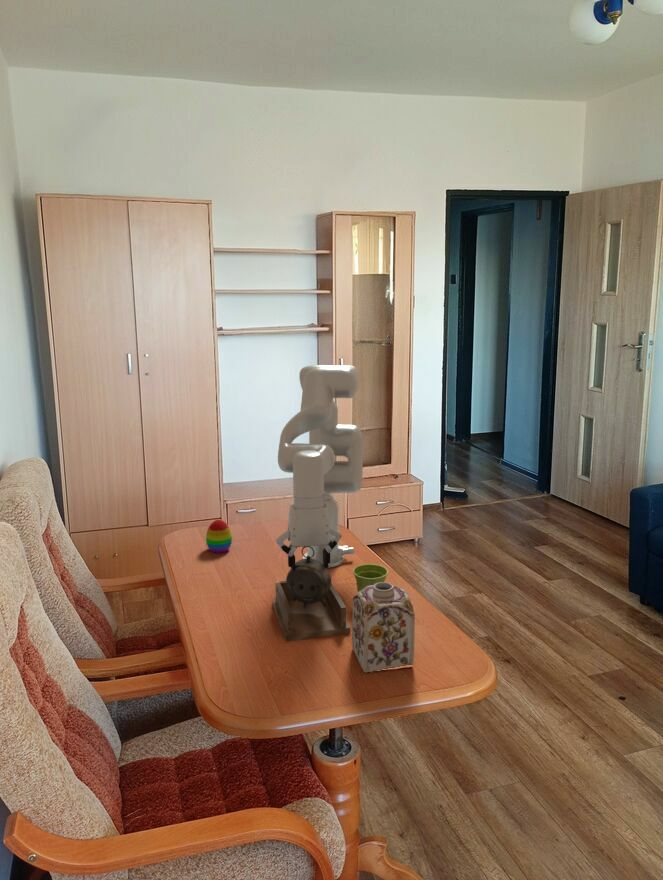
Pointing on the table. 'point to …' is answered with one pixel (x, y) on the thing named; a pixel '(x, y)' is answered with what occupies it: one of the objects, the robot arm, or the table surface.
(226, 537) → the decorative egg
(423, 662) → the table surface
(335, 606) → the wooden tray
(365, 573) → the plant pot
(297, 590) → the alarm clock
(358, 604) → the decorative jar
